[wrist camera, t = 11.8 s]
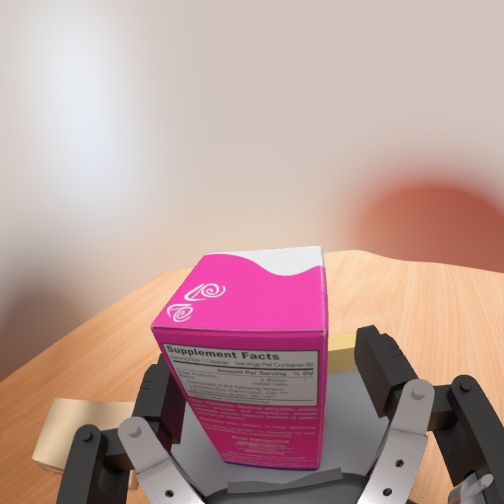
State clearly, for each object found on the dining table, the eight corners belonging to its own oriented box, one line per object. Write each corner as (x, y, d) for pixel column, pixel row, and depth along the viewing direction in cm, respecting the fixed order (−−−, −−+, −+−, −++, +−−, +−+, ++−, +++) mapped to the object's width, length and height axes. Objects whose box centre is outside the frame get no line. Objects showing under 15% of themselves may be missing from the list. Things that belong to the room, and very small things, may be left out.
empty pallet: (44, 469, 12) (30, 458, 11) (63, 409, 19) (53, 397, 18) (138, 490, 12) (125, 481, 12) (147, 414, 20) (138, 402, 19)
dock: (177, 510, 11) (140, 487, 9) (203, 389, 22) (186, 345, 20) (393, 499, 10) (423, 473, 8) (362, 377, 21) (371, 330, 19)
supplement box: (240, 395, 18) (204, 248, 13) (324, 399, 16) (330, 242, 12) (219, 464, 13) (144, 321, 8) (319, 473, 11) (340, 327, 7)
